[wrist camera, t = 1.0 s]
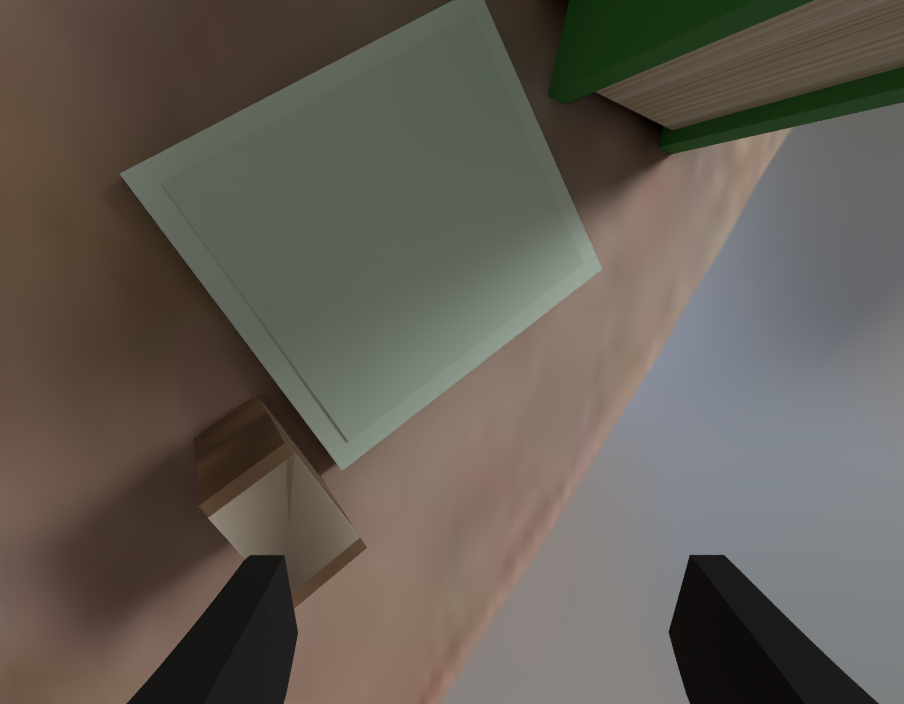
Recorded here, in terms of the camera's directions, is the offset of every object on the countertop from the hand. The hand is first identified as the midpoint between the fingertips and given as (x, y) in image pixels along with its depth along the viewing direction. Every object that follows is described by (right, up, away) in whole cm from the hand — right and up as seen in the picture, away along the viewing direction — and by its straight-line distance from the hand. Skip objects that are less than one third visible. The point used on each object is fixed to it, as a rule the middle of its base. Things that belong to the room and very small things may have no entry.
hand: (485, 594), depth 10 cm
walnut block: (-7, +1, +10) cm, 13 cm away
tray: (-2, +9, +11) cm, 14 cm away
